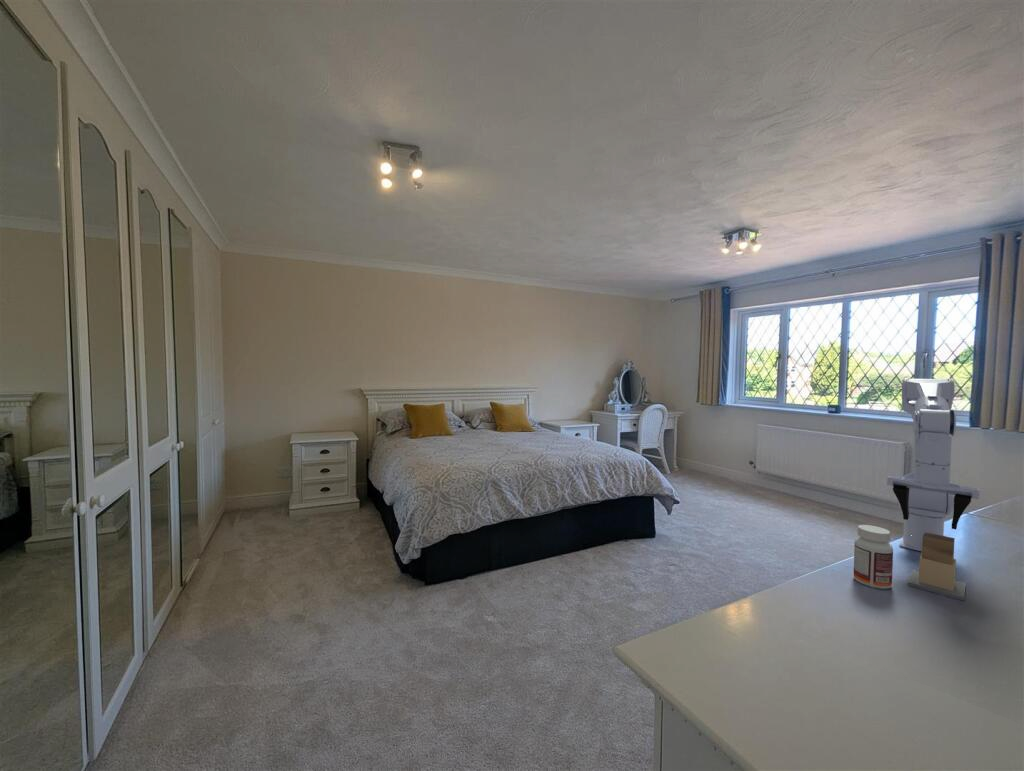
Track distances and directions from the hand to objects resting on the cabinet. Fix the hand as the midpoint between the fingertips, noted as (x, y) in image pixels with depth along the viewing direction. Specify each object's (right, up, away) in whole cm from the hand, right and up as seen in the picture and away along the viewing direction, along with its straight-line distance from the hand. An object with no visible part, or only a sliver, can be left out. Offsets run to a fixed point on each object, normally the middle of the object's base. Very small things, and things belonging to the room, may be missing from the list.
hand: (929, 523), depth 95 cm
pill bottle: (-18, -11, -6) cm, 22 cm away
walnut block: (-6, -5, -7) cm, 10 cm away
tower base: (-6, -11, -7) cm, 14 cm away
